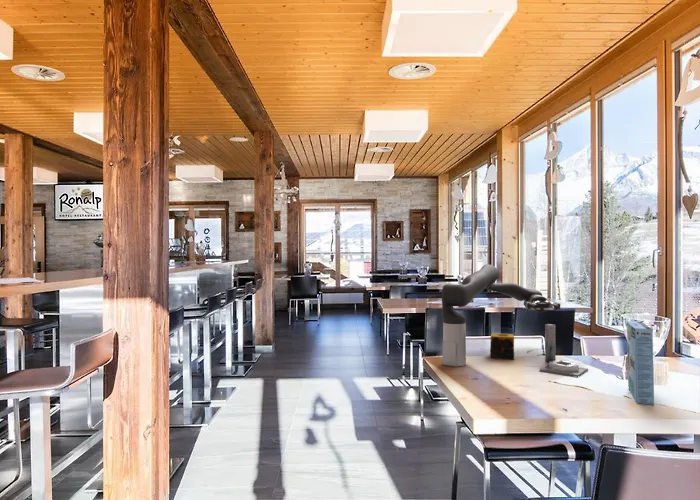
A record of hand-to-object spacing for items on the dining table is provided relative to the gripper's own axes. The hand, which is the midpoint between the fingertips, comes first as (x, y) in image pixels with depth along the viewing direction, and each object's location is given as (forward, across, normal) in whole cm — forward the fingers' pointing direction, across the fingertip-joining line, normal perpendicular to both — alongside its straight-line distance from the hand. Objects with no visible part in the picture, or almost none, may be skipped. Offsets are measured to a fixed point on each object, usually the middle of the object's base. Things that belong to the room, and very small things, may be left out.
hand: (546, 307), depth 210 cm
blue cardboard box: (+56, +18, +22) cm, 62 cm away
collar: (+25, +2, +22) cm, 33 cm away
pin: (+10, 0, +22) cm, 24 cm away
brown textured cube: (+3, -19, +23) cm, 30 cm away
